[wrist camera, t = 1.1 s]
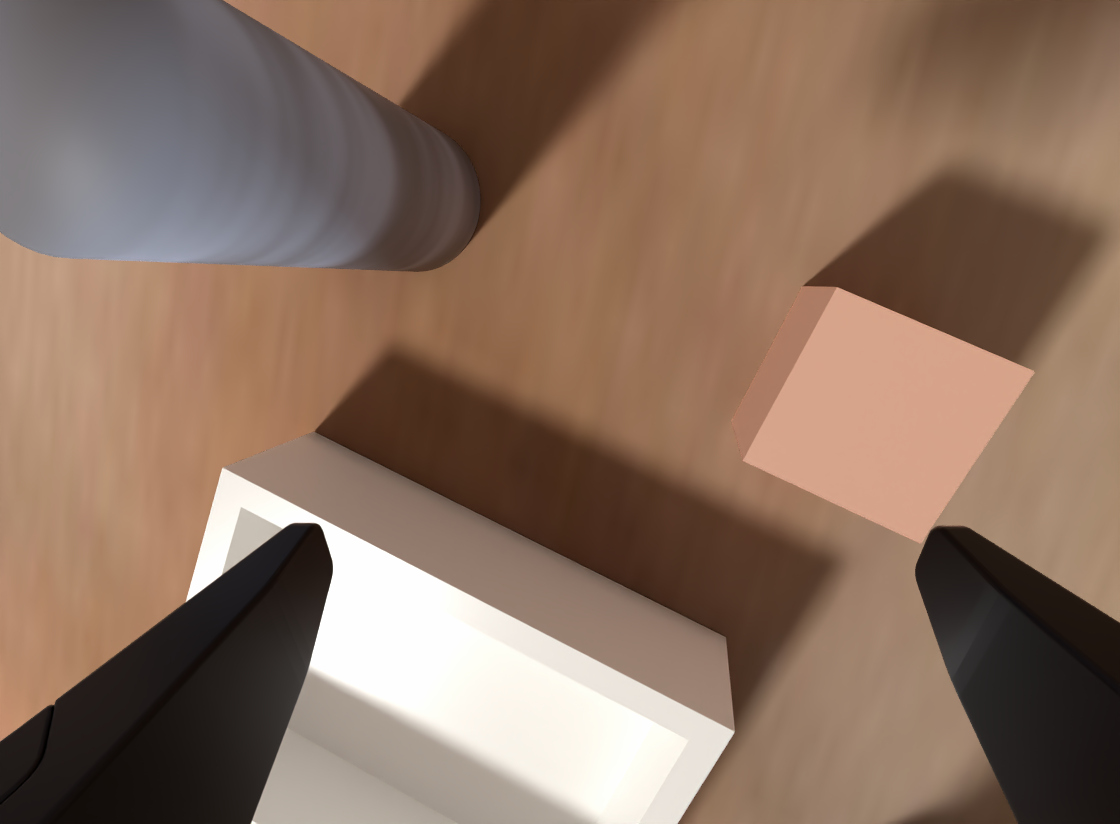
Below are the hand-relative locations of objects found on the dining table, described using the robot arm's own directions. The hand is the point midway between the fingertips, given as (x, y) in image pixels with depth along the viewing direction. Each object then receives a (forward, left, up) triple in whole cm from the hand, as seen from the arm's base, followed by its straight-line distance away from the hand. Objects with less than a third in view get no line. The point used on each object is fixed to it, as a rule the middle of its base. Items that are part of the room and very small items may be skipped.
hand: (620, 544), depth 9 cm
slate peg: (+11, -3, -13) cm, 17 cm away
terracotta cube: (-5, -3, -13) cm, 14 cm away
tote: (+3, +14, -13) cm, 20 cm away
